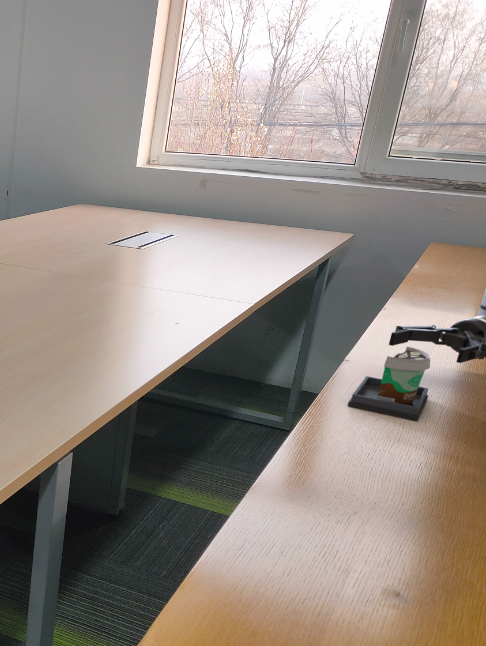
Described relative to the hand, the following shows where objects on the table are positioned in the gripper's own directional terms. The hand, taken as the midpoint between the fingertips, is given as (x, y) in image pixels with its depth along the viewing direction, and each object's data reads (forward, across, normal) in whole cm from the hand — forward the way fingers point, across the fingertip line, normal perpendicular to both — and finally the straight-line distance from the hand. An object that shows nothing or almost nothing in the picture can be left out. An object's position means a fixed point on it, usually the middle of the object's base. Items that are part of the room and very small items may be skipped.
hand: (424, 347), depth 165 cm
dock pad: (+9, 0, -11) cm, 14 cm away
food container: (+10, -2, -10) cm, 14 cm away
